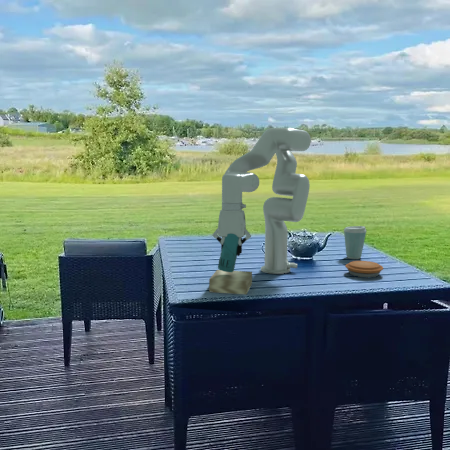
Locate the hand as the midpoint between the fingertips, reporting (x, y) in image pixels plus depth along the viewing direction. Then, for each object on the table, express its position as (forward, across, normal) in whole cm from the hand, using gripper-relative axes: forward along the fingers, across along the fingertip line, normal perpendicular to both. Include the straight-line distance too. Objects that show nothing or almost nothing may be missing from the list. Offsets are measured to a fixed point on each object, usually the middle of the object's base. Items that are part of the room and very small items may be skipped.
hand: (231, 254), depth 210 cm
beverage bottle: (+8, +2, +1) cm, 8 cm away
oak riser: (+13, 0, 0) cm, 13 cm away
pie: (+14, -51, -32) cm, 62 cm away
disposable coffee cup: (+13, -48, -63) cm, 80 cm away
